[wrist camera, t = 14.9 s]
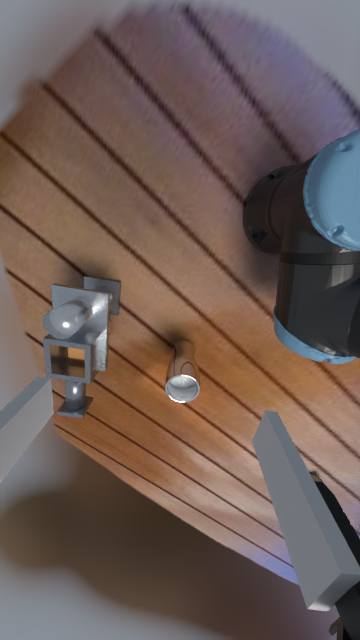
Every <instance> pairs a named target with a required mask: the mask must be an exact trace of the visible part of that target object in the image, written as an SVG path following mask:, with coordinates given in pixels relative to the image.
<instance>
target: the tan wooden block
mask: <svg viewBox="0 0 360 640" xmlns="http://www.w3.org/2000/svg"><path fill="white" fill-rule="evenodd" d="M109 335H110V320H109ZM68 357H69V358H74V359H81V360H85V350H83V349H76V348H70V347H68Z"/></svg>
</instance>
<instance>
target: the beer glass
mask: <svg viewBox="0 0 360 640" xmlns="http://www.w3.org/2000/svg"><path fill="white" fill-rule="evenodd" d="M171 351H172V358H171V360H170V363H169V365H168V368H167V372H166V387H165V390H166V394H167V395H168V397H169V398H170V399H172V400H174V401H176V402H180V403H186V402H190V401H192V400H194V399H195V398H196V397H197V396H198V394H199V391H200V375H199V369H198V366H197V363H196V361H195V358H194V354H195V347H194V345H193V344H192V343H191V342H190V341H188V340H179V341H177V342H175V343H174V344H173V346H172V349H171Z"/></svg>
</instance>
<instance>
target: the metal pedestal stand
mask: <svg viewBox="0 0 360 640" xmlns="http://www.w3.org/2000/svg"><path fill="white" fill-rule="evenodd" d="M51 286H52V301H53V310H51V311H49V312H47V313H46V314H45V316H44V318H43V325H44V328H45V329H46V331H47V332H48V333H49V334H50V335H51V336H53V337H55V338H58V339H66V338H69V337H71V336H72V335H73V334H74V333H75V332H77V331H78V330H81V331H88V332H94V333H100V334H101V367H100V371H106V369H107V363H108V340H109V316H110V314H111V315H117V316H118V315H119V308H120V291H121V282H120V281H114V280H108V279H102V278H97V277H91V276H84V288H79V287H73V286H67V285H61V284H53V285H51ZM66 359H69V360H75V361H82V362H85V360H81V359H74V358H69V357H68V347H66Z"/></svg>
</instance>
